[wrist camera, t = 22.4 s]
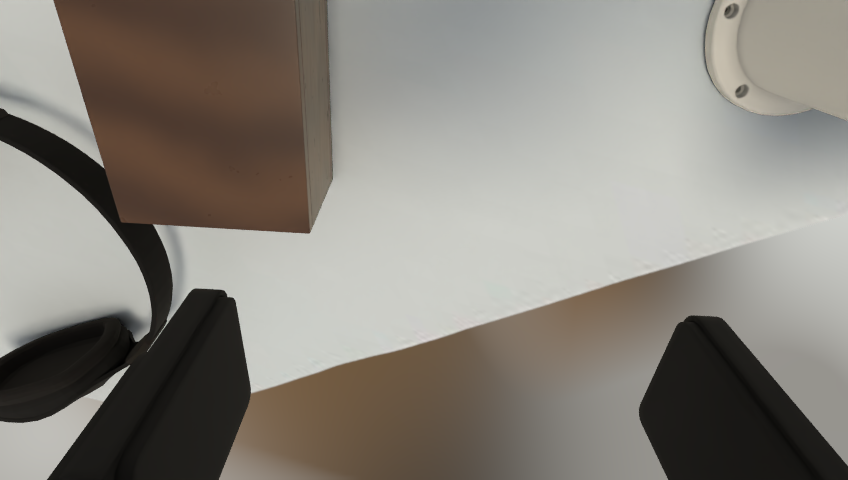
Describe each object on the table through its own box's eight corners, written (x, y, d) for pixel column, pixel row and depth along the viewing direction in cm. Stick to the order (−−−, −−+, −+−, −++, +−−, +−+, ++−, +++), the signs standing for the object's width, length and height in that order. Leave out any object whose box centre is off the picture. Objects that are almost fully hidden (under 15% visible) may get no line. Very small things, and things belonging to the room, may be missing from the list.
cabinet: (139, -34, 29) (42, -34, 21) (326, -19, 29) (293, -13, 22) (182, 169, 36) (120, 222, 28) (332, 178, 36) (310, 233, 29)
